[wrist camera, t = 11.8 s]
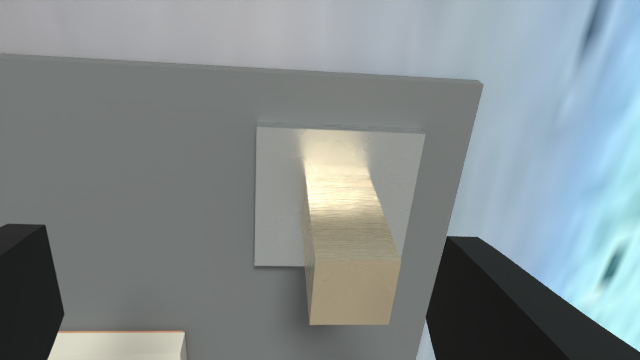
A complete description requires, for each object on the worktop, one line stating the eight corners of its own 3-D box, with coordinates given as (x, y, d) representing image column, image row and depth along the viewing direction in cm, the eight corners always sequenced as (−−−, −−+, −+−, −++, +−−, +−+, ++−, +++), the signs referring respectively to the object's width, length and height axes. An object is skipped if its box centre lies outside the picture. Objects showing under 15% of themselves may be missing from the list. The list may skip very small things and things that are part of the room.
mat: (18, 437, 24) (13, 447, 24) (-122, 46, 15) (-134, 50, 14) (394, 427, 26) (396, 435, 26) (478, 80, 17) (483, 84, 17)
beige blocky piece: (254, 256, 19) (247, 367, 14) (257, 120, 17) (249, 201, 12) (396, 258, 20) (435, 365, 15) (421, 127, 17) (478, 206, 12)
